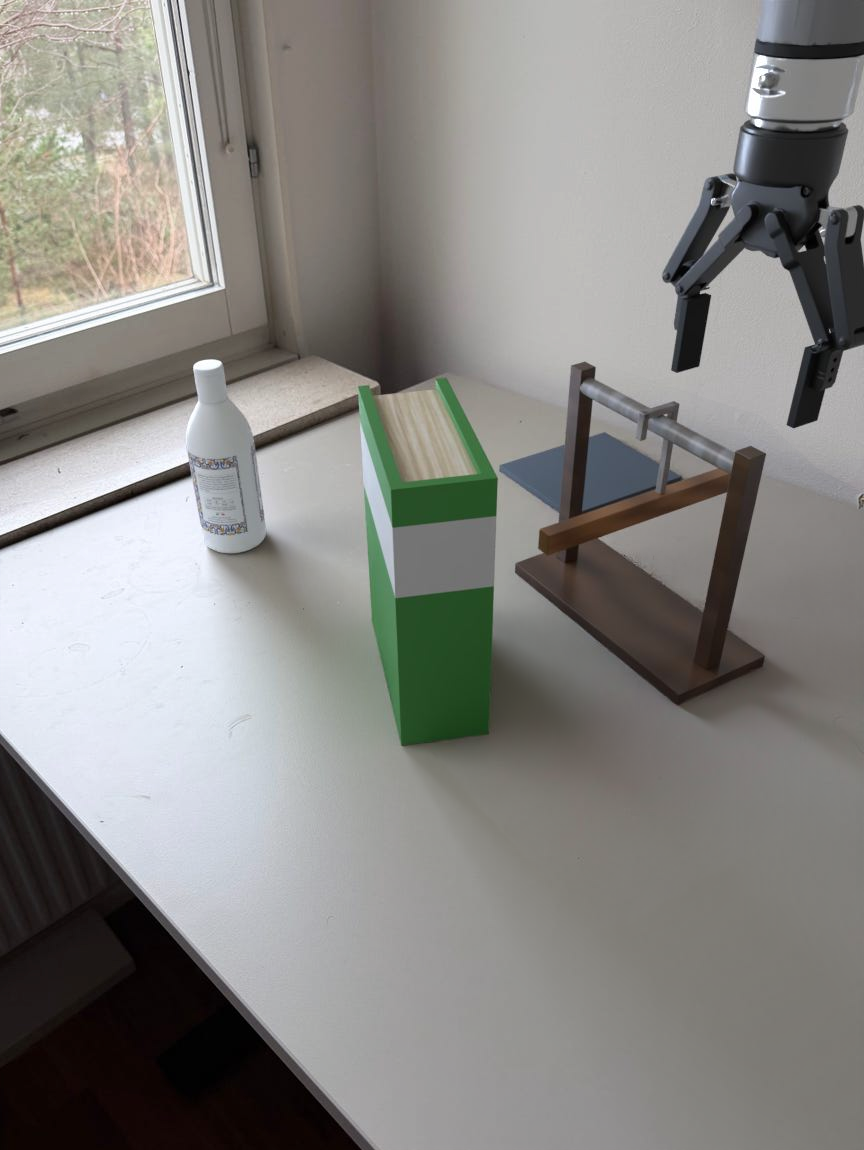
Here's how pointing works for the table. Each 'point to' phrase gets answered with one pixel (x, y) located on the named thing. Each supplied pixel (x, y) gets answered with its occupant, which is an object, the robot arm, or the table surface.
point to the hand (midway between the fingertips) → (740, 394)
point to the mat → (589, 473)
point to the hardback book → (430, 559)
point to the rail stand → (629, 594)
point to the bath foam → (223, 466)
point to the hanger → (637, 497)
